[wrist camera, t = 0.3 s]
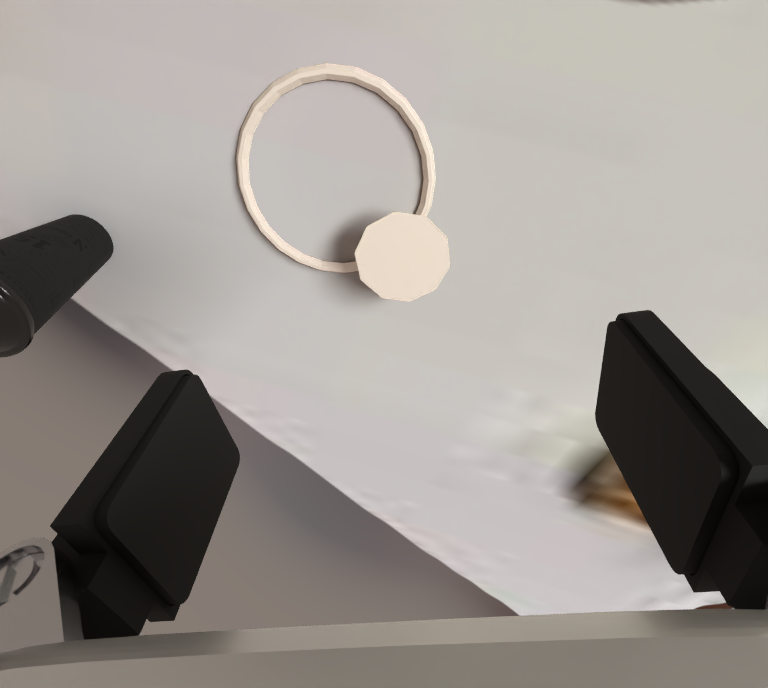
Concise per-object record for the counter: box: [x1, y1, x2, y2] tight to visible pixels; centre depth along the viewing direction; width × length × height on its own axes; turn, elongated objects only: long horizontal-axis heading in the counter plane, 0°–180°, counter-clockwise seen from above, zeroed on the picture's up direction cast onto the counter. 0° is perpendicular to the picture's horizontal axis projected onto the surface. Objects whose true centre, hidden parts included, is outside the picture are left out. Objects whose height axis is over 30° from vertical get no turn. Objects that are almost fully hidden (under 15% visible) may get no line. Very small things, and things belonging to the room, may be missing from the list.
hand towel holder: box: [236, 63, 450, 301], centre depth 36 cm, size 17×4×20 cm
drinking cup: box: [0, 215, 113, 357], centre depth 33 cm, size 8×8×20 cm
